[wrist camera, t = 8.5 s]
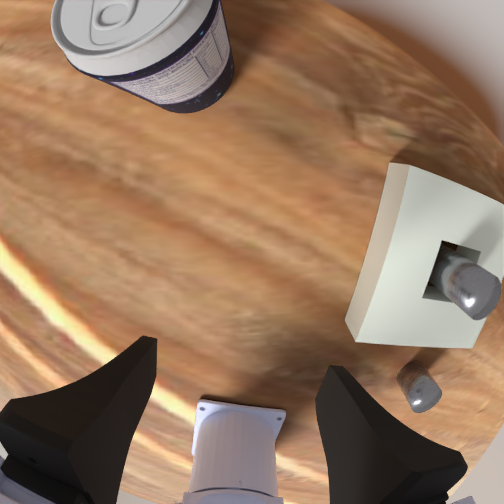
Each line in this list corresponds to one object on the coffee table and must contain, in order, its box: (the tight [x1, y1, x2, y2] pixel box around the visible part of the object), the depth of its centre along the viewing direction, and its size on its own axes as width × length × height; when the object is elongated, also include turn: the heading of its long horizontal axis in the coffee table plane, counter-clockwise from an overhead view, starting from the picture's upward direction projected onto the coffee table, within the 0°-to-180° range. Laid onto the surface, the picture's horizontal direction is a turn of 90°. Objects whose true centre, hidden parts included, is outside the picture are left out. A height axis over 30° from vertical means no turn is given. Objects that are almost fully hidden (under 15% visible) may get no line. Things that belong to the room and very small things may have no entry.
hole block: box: [345, 162, 504, 348], centre depth 20 cm, size 12×12×3 cm
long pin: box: [428, 243, 501, 320], centre depth 18 cm, size 3×3×7 cm
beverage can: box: [51, 0, 234, 113], centre depth 11 cm, size 6×6×12 cm
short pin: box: [397, 361, 442, 413], centre depth 23 cm, size 3×3×4 cm
